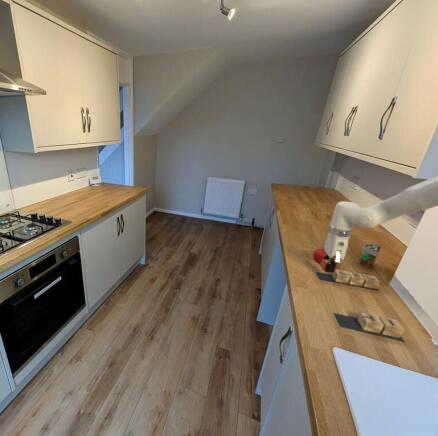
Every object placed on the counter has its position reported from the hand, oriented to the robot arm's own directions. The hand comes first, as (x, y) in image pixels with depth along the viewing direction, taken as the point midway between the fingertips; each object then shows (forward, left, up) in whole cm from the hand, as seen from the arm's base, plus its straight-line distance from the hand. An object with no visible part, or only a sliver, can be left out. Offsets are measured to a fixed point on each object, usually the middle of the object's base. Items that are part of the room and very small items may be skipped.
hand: (327, 268), depth 105 cm
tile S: (0, 0, 0) cm, 0 cm away
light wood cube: (-16, 0, -4) cm, 16 cm away
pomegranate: (-4, -16, -5) cm, 17 cm away
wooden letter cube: (-11, 0, -4) cm, 11 cm away
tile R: (-6, 0, -4) cm, 7 cm away
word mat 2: (-5, +29, -5) cm, 30 cm away
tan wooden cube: (-5, +29, -4) cm, 30 cm away
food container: (-23, -22, -5) cm, 32 cm away
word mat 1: (-8, 0, -5) cm, 9 cm away
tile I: (-10, +29, -4) cm, 31 cm away
